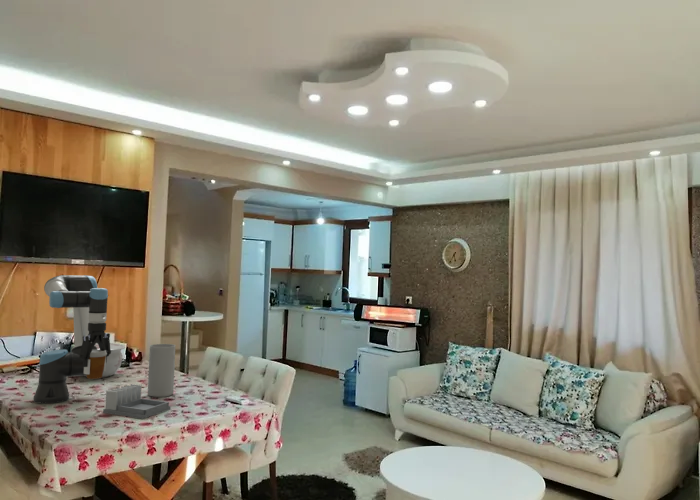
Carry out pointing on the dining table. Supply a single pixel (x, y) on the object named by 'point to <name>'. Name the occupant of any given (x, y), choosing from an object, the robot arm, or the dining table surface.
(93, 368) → the disposable coffee cup
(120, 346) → the chamber pot
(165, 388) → the cylinder vase
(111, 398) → the dish rack
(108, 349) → the robot arm
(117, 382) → the dining table surface
